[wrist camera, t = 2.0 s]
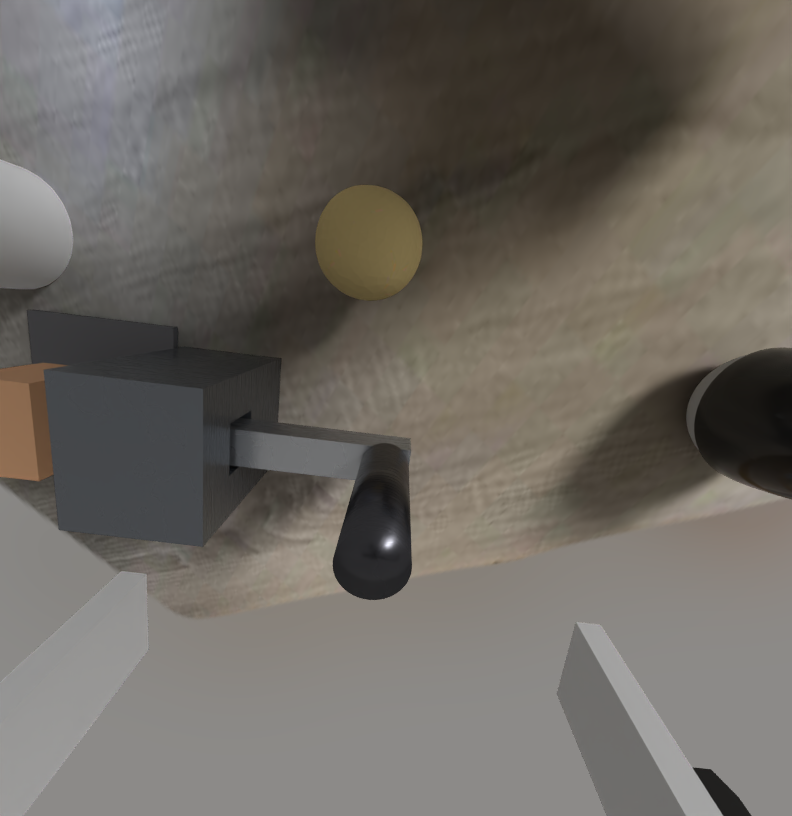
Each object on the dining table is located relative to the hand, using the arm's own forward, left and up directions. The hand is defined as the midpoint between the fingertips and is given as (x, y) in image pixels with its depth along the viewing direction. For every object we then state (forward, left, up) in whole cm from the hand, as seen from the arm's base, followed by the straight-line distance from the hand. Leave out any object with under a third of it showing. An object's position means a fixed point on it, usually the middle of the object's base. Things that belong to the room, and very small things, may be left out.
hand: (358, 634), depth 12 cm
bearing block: (0, -13, -22) cm, 26 cm away
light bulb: (-13, -2, -22) cm, 26 cm away
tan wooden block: (0, -22, -17) cm, 28 cm away
